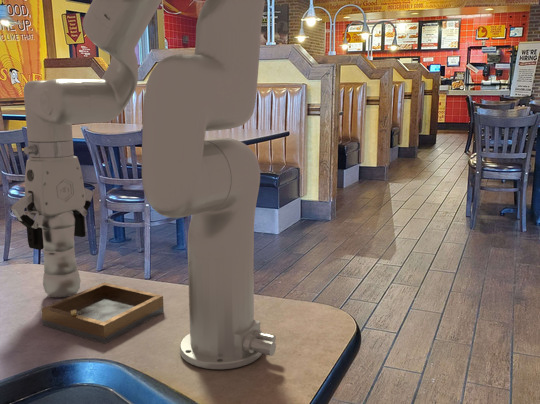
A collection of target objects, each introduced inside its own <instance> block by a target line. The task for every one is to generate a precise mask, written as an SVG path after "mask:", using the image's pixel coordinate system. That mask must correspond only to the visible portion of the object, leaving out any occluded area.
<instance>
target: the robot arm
mask: <svg viewBox="0 0 540 404" xmlns="http://www.w3.org/2000/svg"><path fill="white" fill-rule="evenodd" d="M162 1H163V0H92V1H91V3H90V5H89V7H88V9H87V10H86V12H85V14H84V16H83V19H82V29H83V31H84V34H85V35H86V36H87V38H88V40H90V42H92V43H93V44H94V45H95V46H96V47H97V48H98V49H100V50H101V51H102V52H104V53H106V54H108V55H110V56H111V58H110V62H109V65H108V66H107V69H106V70H105V72H104V73H103V76H102V77H101V78H100V79H95V78H94V79H93V78H89V79H88V78H53V79H49V80H30V81H27V82H25V84H24V85H23V99H24V111H25V123H26V136H27V146H24V148H23V153H24V154H25V155H28V159H27V160H26V165H25V172H24V195H23V196H22V197H21V198H20V199H18V200H17V201H16V202H15V203H13V204H12V205H11V207H10V209H11V212H12V213H13V215H14V216H15V217H16V220H17V221H18V222H20V223H21V224H22V226H23V227H25V228H26V236H27V243H28V248H29V249H33V250H38V251H41V250H44V249H43V248H44V245H43V233H42V228H40V227H39V225H40V223H41V221H42V219H43V218H44V216H53V215H57V214H62V213H65V212H70V211H71V212H72V213H73V215H74V217H75V233H74V237H79V238H85V237H86V236H87V235H86V222H85V220H86V219H85V217H87V215H88V210H89V208H90V207H91V204H92V203H91V201H92V199H93V196H94V191H93V190H92V189H89V188H86V187H85V186H84V185H85V184H84V178H83V177H84V176H83V172H82V167H81V164H80V161H79V158H78V156H76V155H74V154H75V153H74V139H73V125H80V124H81V125H82V124H98V123H99V124H100V123H108V122H112V121H114V120H116V119H117V118H118V117H119V116H120V115H121V114H122V113H123V111H124V110H125V108H126V107H127V105H128V104H129V102H130V100H131V99H132V97H133V95H134V93H135V91H136V89H137V85H138V81H139V80H138V79H139V62H138V57H137V54H136V50H135V49H136V48H137V46H138V43H139V42H140V40H141V38H142V36H143V35H144V33H145V31H146V29H147V28H148V26H149V23H150V22H151V21H152V18H153V17H154V15H155V13H156V11H157V10H158V7H160V4H161V3H162ZM265 4H266V0H204V2H203V4H202V6H201V9H200V12H199V14H198V17H197V21H196V28H195V47H194V54H183V53H181V54H173V55H170V56H168V57H165V58H163V59H162V60H160V61H159V62H158V63H156V65H155V66H154V68H153V69H152V70H151V72H150V74H149V76H148V78H147V80H146V81H147V82H146V83H145V88H144V92H143V102H142V103H143V105H142V106H143V107H142V134H141V135H142V137H141V138H142V141H141V142H142V143H141V146H142V147H141V181H142V188H143V192H144V195H145V198H146V200H147V202H148V204H149V205H150V207H151V208H152V209H153V210H154V211H155V212H156V213H158V214H159V215H161V216H163V217H166V218H169V219H170V218H171V219H177V218H178V219H181V218H185V217H190V216H191V218H190V221H189V225H188V232H187V271H188V272H187V275H188V277H187V278H188V279H187V280H188V304H189V305H188V307H189V310H188V311H189V312H188V313H189V333H188V334H187V335H185V336H184V337H183V338H182V340H181V341H180V342H179V343H180V344H179V353H180V356H181V358H182V359H183V360H184V361H186V362H187V363H189V364H190V365H193V366H195V367H197V368H201V369H205V370H206V369H209V370H229V369H230V370H231V369H236V368H240V367H244V366H247V365H249V364H252V363H254V362H255V361H256V360H258V359H259V358H260V357H261V356H262V355H266V356H270V357H273V356H274V354H275V353H276V350H277V349H276V348H277V344H276V341H277V338H276V335H275V334H270V333H264V332H263V331H262V330H261V321H260V320H258V319H257V320H256V319H255V304H254V303H255V295H254V293H255V291H254V290H255V289H254V285H255V283H254V282H255V281H254V279H255V278H254V276H255V275H254V274H255V273H254V271H255V270H254V266H255V265H254V263H255V262H254V258H255V254H254V252H255V244H254V243H255V239H254V238H255V219H256V218H255V216H256V208H257V202H258V201H257V200H258V196H259V191H260V184H261V168H260V164H259V160H258V158H257V156H256V154H255V153H254V151H253V150H252V149H251V148H250V147H249V146H248V145H247V144H246V143H244V142H242V141H240V140H238V139H233V138H225V137H223V138H222V137H219V138H218V137H217V138H208V139H206V138H205V137H206V132H212V131H223V130H224V131H225V130H231V129H235V128H239V127H241V126H244V125H245V124H247V122H249V121H250V119H251V117H252V116H253V114H254V112H255V107H256V101H257V90H258V79H259V78H258V77H259V64H260V55H261V54H260V53H261V34H262V24H263V16H264V10H265ZM25 209H26V211H27V214H26V211H25Z"/></svg>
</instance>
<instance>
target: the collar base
mask: <svg viewBox="0 0 540 404" xmlns="http://www.w3.org/2000/svg"><path fill="white" fill-rule="evenodd" d="M162 313H164V296H163V295H161V294H156V293H152V292H147V291H143V290H139V289H135V288H131V287H130V288H129V287H127V286H126V287H125V286H122V285H117V284H112V283H109V282H102V283H99V284H97V285H94V286H93V287H90V288H88V289H85V290H83V291H80V292H77V293H76V294H74V295H71V296H67V297H66V298H65V297H64V298H63V299H61V300H59V301H56V302H54V303H51V304H48V305H46V306H44V307H41V317H42V318H41V319H42V325H43V326H44V327H48V328H50V329H54V330H57V331H62V332H64V333H67V334H71V335H74V336H78V337H82V338H84V339H87V340H91V341H94V342H98V343H101V344H104V345H106V344H107V343H108V342H110V341H112V340H115V339H117V338H118V337H120V336H122V335H124V334H126V333H128V332H129V331H132V330H133V329H134V328H137V327H139V326H140V325H142V324H144V323H146V322H148V321H150V320H152V319H153V318H155V317H157V316H158V315H161V314H162Z"/></svg>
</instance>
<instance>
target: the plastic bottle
mask: <svg viewBox="0 0 540 404" xmlns="http://www.w3.org/2000/svg"><path fill="white" fill-rule="evenodd" d="M39 227H40V228H42V233H43V245H44V248H43V249H42V250H43V271H44V273H43V277H42V286H43V289H44V292H45V293H46V295H47V296H49V297H51V298H65V297H66V298H68V297H70V296H73V295H75V294H77V293H79V289H80V287H81V282H82V281H81V276H80V272H79V269H78V265H77V259H76V253H75V236H74V233H75V217H74V215H73V213H72V212H71V211H70V212H65V213H62V214H57V215H53V216H44V218H43V219H42V221H41V223H40V225H39Z"/></svg>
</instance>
